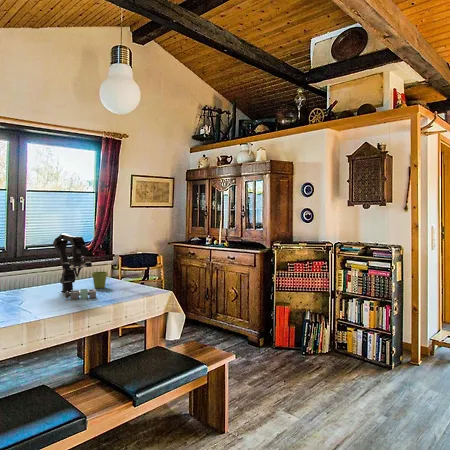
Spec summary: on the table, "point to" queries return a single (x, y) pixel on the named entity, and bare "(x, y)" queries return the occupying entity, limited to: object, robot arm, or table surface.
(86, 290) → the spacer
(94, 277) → the plant pot
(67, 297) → the shaft
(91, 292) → the cradle rig
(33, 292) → the table surface
